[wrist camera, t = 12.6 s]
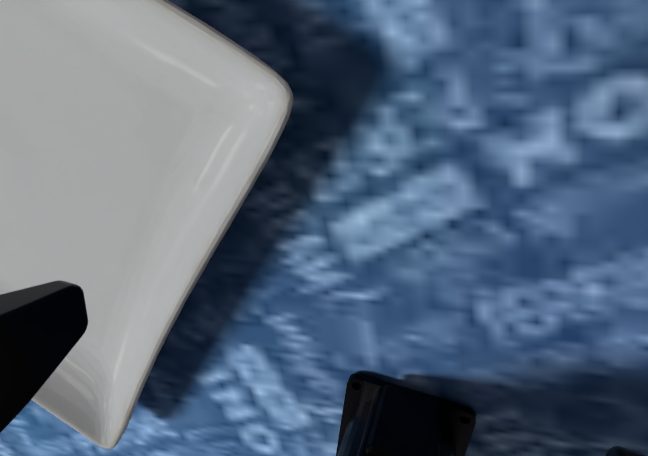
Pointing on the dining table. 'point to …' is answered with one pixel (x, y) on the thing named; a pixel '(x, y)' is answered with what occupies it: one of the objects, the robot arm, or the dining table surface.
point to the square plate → (122, 176)
